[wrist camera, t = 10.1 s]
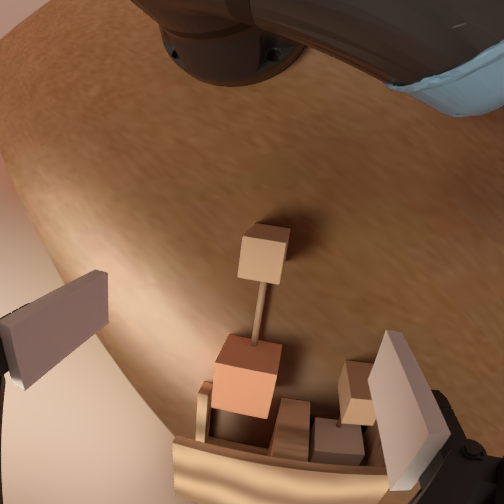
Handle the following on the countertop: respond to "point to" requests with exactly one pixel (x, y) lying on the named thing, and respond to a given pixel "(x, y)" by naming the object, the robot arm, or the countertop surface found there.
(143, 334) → the countertop surface
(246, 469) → the shelf
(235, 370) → the tether block terracotta
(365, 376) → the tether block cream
